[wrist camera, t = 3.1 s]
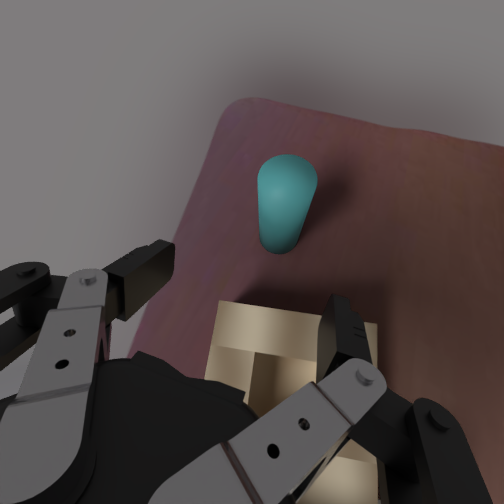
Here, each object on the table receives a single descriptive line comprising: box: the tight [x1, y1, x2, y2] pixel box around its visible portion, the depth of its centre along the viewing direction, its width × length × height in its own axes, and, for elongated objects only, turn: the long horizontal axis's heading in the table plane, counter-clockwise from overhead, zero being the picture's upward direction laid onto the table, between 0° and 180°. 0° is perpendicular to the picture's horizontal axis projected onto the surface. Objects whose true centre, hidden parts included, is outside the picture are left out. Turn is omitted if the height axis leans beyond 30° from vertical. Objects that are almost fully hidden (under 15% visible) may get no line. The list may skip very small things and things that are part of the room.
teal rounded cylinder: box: [258, 154, 317, 254], centre depth 22 cm, size 4×4×10 cm
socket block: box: [204, 300, 378, 504], centre depth 20 cm, size 12×12×5 cm
